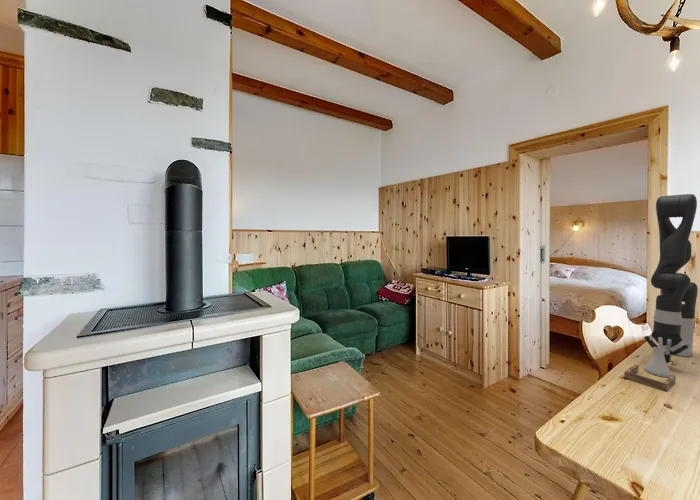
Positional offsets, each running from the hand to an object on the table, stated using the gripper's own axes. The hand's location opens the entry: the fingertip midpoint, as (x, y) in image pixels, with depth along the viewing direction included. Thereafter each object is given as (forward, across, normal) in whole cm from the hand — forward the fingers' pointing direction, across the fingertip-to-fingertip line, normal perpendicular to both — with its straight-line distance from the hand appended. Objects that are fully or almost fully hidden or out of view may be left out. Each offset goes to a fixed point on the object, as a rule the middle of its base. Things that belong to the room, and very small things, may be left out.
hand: (664, 362), depth 119 cm
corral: (+2, 0, +20) cm, 20 cm away
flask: (+2, 0, +9) cm, 9 cm away
